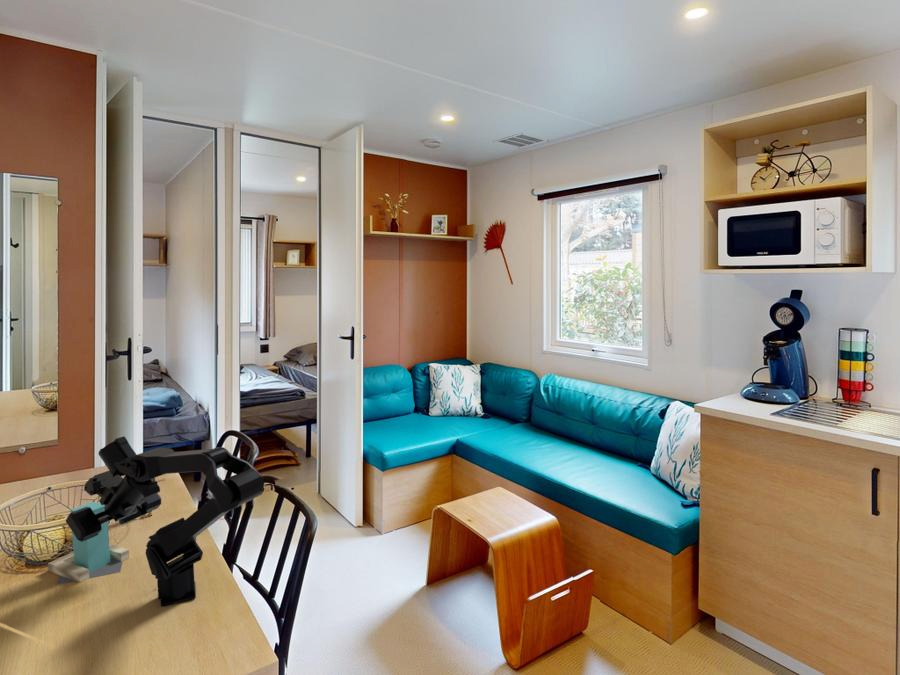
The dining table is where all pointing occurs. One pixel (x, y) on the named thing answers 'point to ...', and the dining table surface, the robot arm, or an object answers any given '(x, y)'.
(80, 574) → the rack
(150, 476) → the robot arm
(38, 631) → the dining table surface
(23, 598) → the dining table surface
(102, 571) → the mat
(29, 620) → the dining table surface
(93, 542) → the teal post
